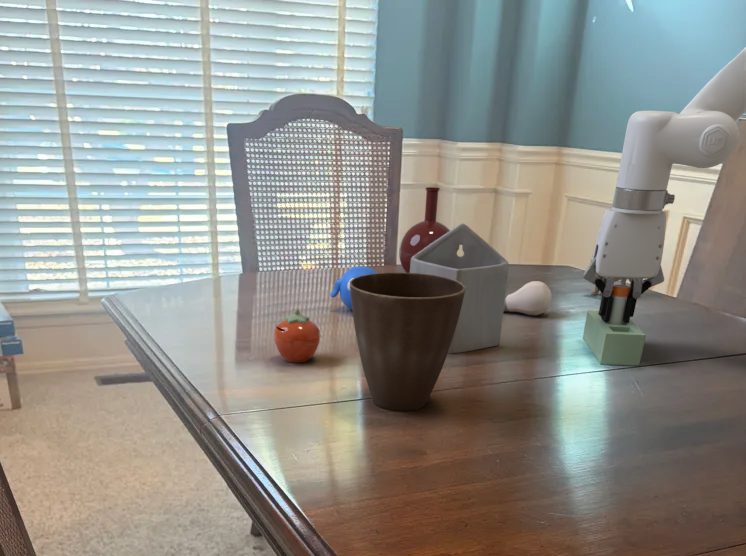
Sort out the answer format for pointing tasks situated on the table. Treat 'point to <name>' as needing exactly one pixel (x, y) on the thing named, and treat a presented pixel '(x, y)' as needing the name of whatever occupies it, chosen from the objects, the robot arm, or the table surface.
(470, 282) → the planter
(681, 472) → the table surface
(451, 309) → the flower pot
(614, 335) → the rack
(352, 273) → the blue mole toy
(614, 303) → the test tube
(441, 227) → the round-bottom flask
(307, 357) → the tomato
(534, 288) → the light bulb
